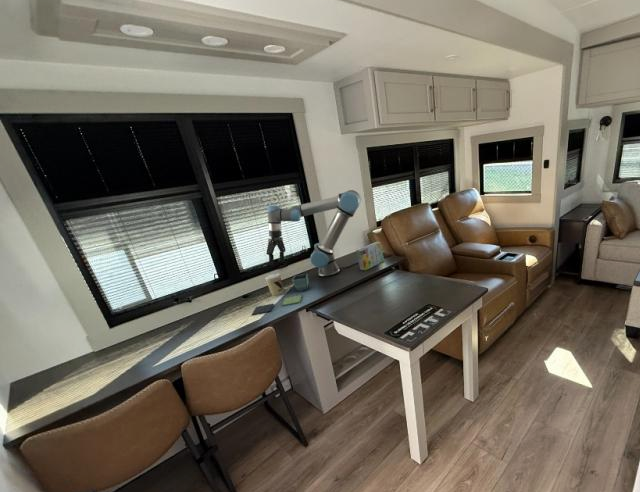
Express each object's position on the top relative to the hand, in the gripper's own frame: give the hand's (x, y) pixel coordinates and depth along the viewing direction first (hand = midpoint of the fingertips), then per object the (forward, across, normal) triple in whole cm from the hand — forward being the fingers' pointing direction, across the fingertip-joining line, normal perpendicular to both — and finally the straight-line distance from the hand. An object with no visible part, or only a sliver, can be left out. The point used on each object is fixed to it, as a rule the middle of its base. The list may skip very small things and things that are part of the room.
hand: (277, 263), depth 205 cm
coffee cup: (+19, +4, +2) cm, 20 cm away
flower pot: (+16, +2, +18) cm, 25 cm away
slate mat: (+23, +28, +5) cm, 36 cm away
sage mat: (+19, +19, +18) cm, 32 cm away
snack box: (+4, -32, +57) cm, 65 cm away
